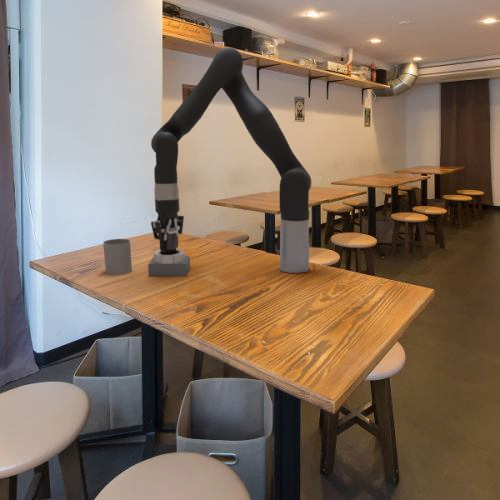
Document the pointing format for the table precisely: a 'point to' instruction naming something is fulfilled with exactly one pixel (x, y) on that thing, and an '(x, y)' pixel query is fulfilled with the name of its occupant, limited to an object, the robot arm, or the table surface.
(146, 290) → the table surface
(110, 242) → the cup
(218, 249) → the table surface
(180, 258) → the grey block with ring
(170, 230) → the lens
